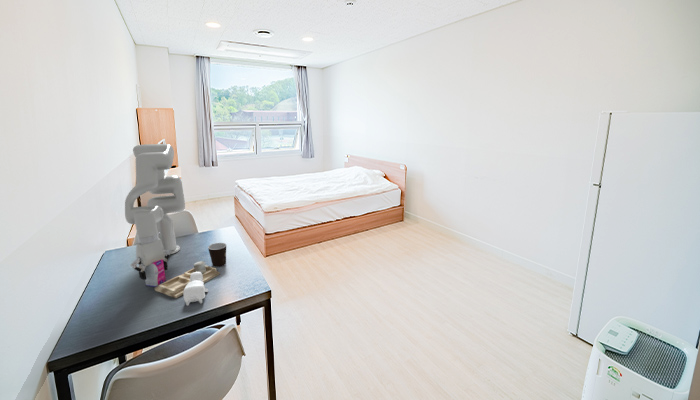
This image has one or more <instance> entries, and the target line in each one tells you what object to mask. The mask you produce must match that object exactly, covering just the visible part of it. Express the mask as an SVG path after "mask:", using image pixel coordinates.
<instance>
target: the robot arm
mask: <svg viewBox="0 0 700 400" xmlns="http://www.w3.org/2000/svg"><path fill="white" fill-rule="evenodd" d="M132 152H133V155H134V157H135V183H136V184H135V186H134V187H132V189H131V190H130V191H129V192H128V193H127V195H126V197H125V200H124V216H125V217H124V218H125V220H126V222H127V223H128V224H129V225H135V231H136V235H137V243H136V245H135V246H136V248H135V250H136V251H135V256H136V259H135V260H134V261H133V262H132V263H131V264H130V267H131V268H132V269H133V270H135V271H138V275H139V276H138V277H139V278H140V279H142V280H143V281H145V280H146V279H147V278H146V273H145V271H144V269H145V267H146V266H148V265H150V264H152V263H154V262H157V261H159V260H162V259H163V264H164V271H168V262H169V261H168V260H169V258H170V255H173V254H176V253H177V252H179V251H180V250H181V247H180V245H178V244H177V240H176V234H175V228H174V222H173V221H174V220H173V219H172V217H171V216H170V215H169V214H174V213H181V212H183V211H185V209H186V201H185V195H184V189H183V182H182V179H181V178H180V176H178V175H173V174H172V175H171V174H169V175H166V174H165V171H166V170H167V171H168V170H170V169H171V168H172V166H173V163H174V158H175V150H174V148H173V146H172V145H171V144H168V143H157V144H156V143H154V144H153V143H152V144H151V143H149V144H139V145H138V144H137V145H135V146H133V149H132ZM148 192H149V193H150V194H151V195H160V196H153V197H150V198H149V199H148V200H147V204H146V205H147V206H146V205H145V206H136V207H134V205H135V202H136V200H137V199H138V198H139V197H141V196H142V195H143V194H146V193H148ZM165 194H169V195H165ZM170 194H173V195H170Z"/></svg>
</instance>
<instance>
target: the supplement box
mask: <svg viewBox="0 0 700 400" xmlns="http://www.w3.org/2000/svg"><path fill="white" fill-rule="evenodd" d="M144 271H145V273H146V278H147V279H146V280H144V282H145V286H146V287H151V288H152V287H153V288H155V287H157V286H158V285H160V284H162V283H164V282H166V281H167V280H166V273H165V271H166V270H164V264H163V259H162V260H159V261H157V262H154V263H152V264H150V265H148V266H146V267H145V269H144Z"/></svg>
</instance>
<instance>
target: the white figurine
mask: <svg viewBox="0 0 700 400" xmlns="http://www.w3.org/2000/svg"><path fill="white" fill-rule="evenodd" d="M202 281H203V275H202V273H201V272H194V273H191V275H190V282H189V283H188V284H187V285H186V287H185V289H184V291H183V300H184V302H185V305H186V306H190V303H196V302H198V303H199V304H203V300H204V299H205V297H206V293H208V292H209V289H208V288H207V287H206V286H205V283H204V282H202Z"/></svg>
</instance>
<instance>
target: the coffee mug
mask: <svg viewBox="0 0 700 400" xmlns="http://www.w3.org/2000/svg"><path fill="white" fill-rule="evenodd" d="M207 250H208V252H209V257H210V260H211V264H212V266H213V267H214V268H220V267H224V266H225V265H226V264H227V244H226V243H225V242H214V243H212V244H210V245H209V246H207Z"/></svg>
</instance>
